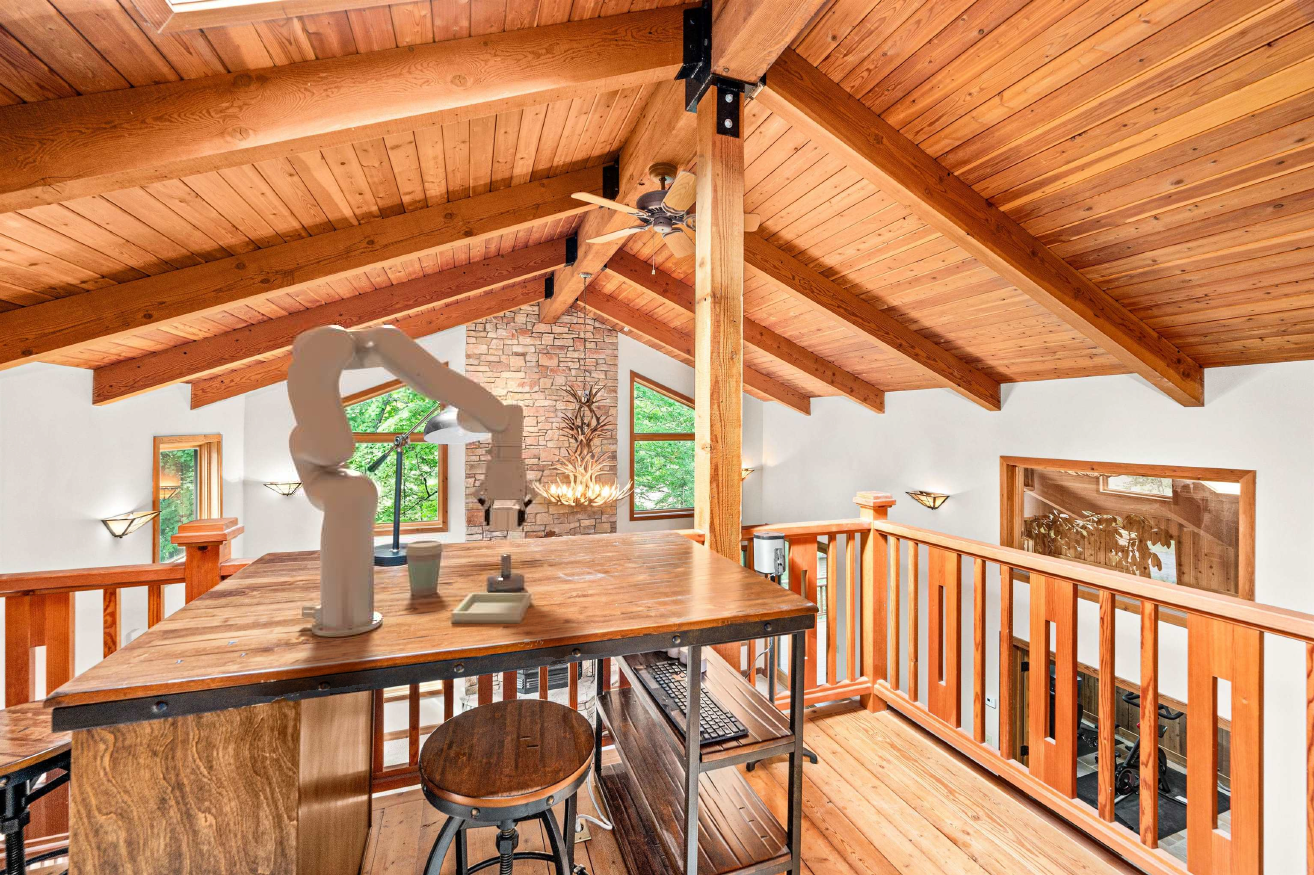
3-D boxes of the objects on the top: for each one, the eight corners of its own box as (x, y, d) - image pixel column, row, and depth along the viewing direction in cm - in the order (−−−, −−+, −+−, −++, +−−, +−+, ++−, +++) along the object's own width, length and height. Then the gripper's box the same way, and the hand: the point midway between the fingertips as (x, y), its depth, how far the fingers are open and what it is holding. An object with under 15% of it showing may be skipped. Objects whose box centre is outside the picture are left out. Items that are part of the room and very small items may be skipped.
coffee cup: (448, 588, 144) (449, 540, 143) (432, 598, 135) (432, 548, 135) (416, 586, 144) (416, 539, 144) (397, 597, 136) (397, 546, 136)
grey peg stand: (482, 594, 139) (483, 559, 139) (491, 584, 148) (492, 551, 148) (520, 594, 139) (520, 559, 139) (527, 584, 148) (527, 551, 148)
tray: (451, 622, 119) (451, 612, 119) (470, 601, 133) (470, 592, 133) (519, 623, 120) (519, 613, 120) (531, 601, 134) (531, 592, 134)
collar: (486, 530, 139) (487, 509, 139) (493, 525, 146) (494, 505, 146) (516, 530, 139) (516, 510, 139) (521, 525, 146) (522, 506, 146)
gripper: (466, 453, 138) (465, 527, 139) (539, 455, 139) (537, 528, 139) (475, 452, 146) (473, 522, 146) (544, 453, 147) (542, 523, 147)
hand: (504, 524), depth 143 cm, fingers closed on collar, 7 cm apart
